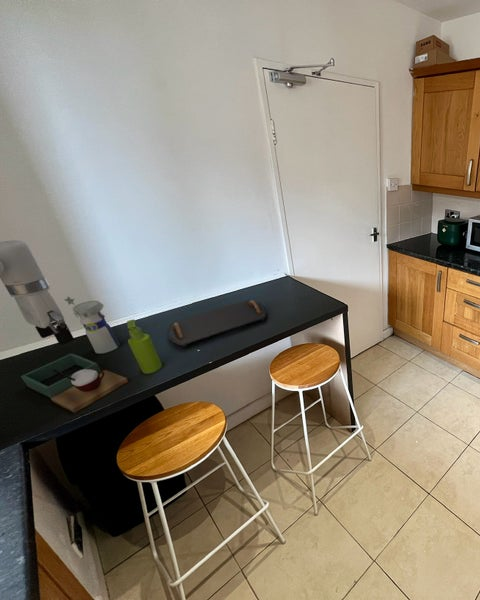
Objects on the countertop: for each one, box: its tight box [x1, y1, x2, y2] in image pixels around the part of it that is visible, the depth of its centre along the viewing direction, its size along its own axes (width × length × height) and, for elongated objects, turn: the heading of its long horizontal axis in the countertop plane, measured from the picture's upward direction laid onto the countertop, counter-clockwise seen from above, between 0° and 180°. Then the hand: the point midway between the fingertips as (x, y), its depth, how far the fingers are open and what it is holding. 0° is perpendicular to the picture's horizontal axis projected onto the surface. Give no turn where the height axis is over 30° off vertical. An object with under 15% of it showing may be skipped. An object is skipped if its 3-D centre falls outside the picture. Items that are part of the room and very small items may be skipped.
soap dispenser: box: [126, 319, 163, 375], centre depth 109 cm, size 6×7×20 cm
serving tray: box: [167, 300, 267, 349], centre depth 138 cm, size 39×23×6 cm, turn 131°
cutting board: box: [50, 369, 129, 414], centre depth 103 cm, size 15×12×2 cm
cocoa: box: [50, 368, 104, 392], centre depth 100 cm, size 10×6×12 cm, turn 133°
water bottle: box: [64, 296, 121, 354], centre depth 119 cm, size 8×9×25 cm
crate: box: [20, 352, 102, 399], centre depth 107 cm, size 14×16×4 cm
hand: (58, 339), depth 93 cm, fingers open, 9 cm apart
